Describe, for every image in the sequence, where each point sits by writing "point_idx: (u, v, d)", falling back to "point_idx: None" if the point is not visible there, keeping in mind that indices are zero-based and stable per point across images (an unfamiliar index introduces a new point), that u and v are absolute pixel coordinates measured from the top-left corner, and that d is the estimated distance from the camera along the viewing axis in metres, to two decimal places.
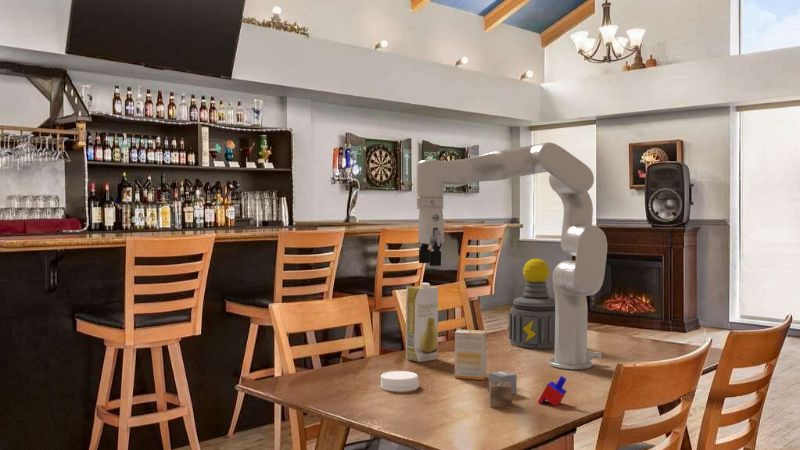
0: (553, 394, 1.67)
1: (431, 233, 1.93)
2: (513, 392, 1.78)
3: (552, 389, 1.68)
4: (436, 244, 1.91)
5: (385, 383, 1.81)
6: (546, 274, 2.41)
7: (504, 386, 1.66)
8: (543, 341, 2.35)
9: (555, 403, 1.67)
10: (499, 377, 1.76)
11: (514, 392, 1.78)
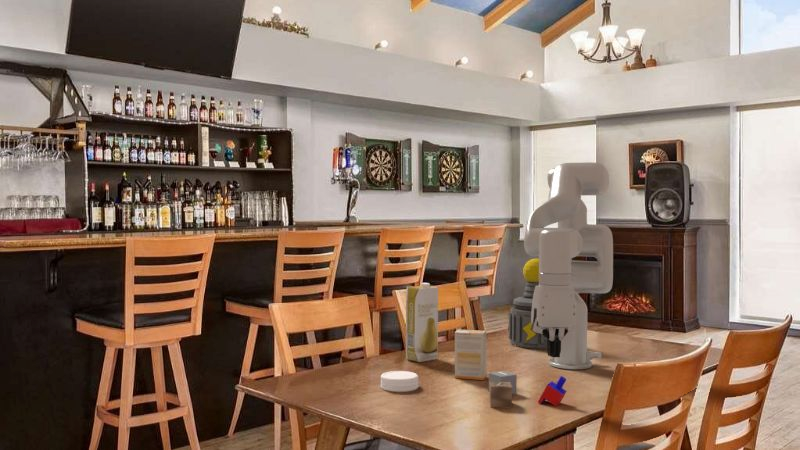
0: (553, 394, 1.67)
1: None
2: (513, 392, 1.78)
3: (552, 389, 1.68)
4: (567, 331, 1.70)
5: (385, 383, 1.81)
6: None
7: (504, 386, 1.66)
8: (543, 341, 2.35)
9: (555, 403, 1.67)
10: (499, 377, 1.76)
11: (514, 392, 1.78)
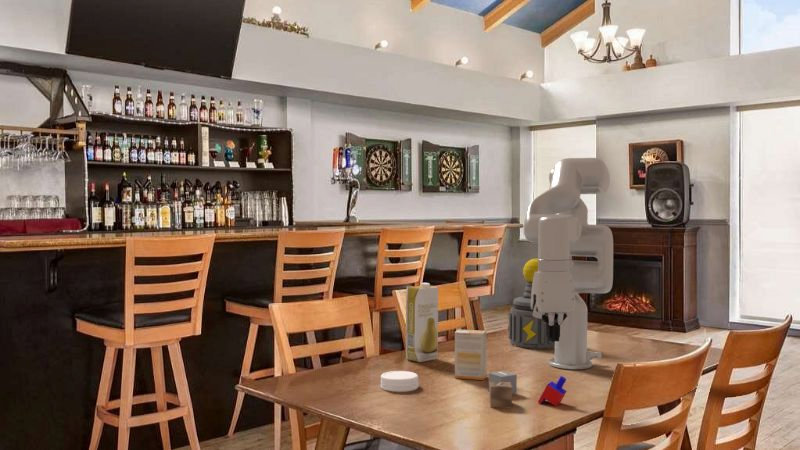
0: (553, 394, 1.67)
1: None
2: (513, 392, 1.78)
3: (552, 389, 1.68)
4: (566, 316, 1.73)
5: (385, 383, 1.81)
6: None
7: (504, 386, 1.66)
8: (543, 341, 2.35)
9: (555, 403, 1.67)
10: (499, 377, 1.76)
11: (514, 392, 1.78)
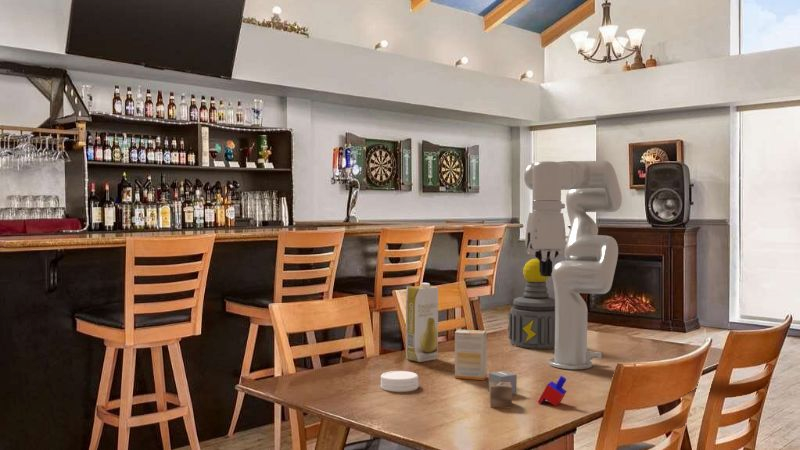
0: (553, 394, 1.67)
1: None
2: (513, 392, 1.78)
3: (552, 389, 1.68)
4: (557, 253, 1.89)
5: (385, 383, 1.81)
6: None
7: (504, 386, 1.66)
8: (543, 341, 2.35)
9: (555, 403, 1.67)
10: (499, 377, 1.76)
11: (514, 392, 1.78)
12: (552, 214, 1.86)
